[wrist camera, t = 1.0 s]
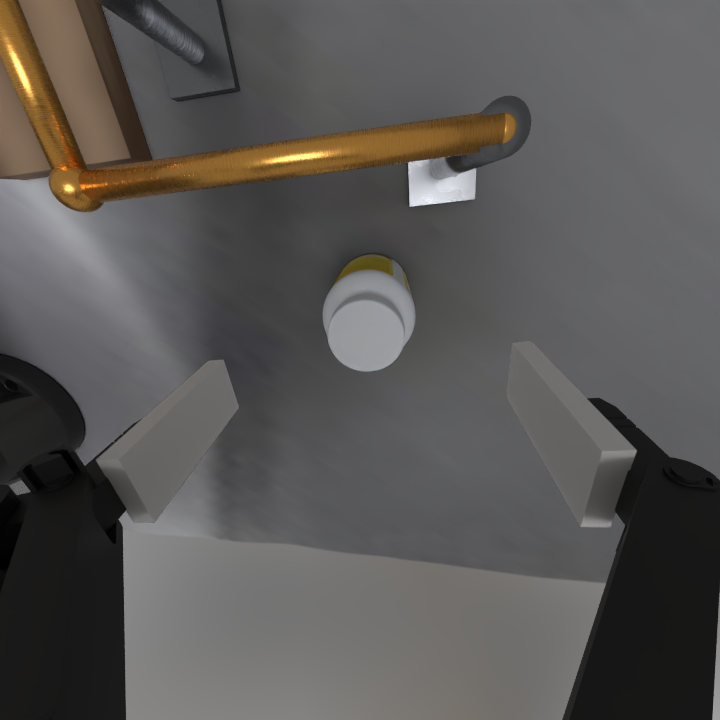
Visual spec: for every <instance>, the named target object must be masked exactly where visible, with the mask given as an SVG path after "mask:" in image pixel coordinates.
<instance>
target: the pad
mask: <svg viewBox="0 0 720 720" xmlns="http://www.w3.org/2000/svg"><path fill="white" fill-rule="evenodd" d="M19 3H20V5H21V8H22V10H23V13H24V15H25V18H26V20H27V22H28V25H29V27H30V30H31V32H32V35H33V37H34V39H35V42H36V44H37V47H38V49H39V52H40V54H41V56H42V59H43V61H44V64H45V66H46V69H47V71H48V73H49V76H50V78H51V81H52V83H53V86H54V88H55V90H56V93H57V95H58V98H59V100H60V103H61V105H62V107H63V110H64V112H65V115H66V117H67V120H68V122H69V124H70V127H71V129H72V132H73V134H74V137H75V139H76V142H77V144H78V146H79V149H80V151H81V154H82V156H83V159H84V161H85V163H86V166H87V168H88V170H90V169H97V168H104V167H111V166H117V165H124V164H131V163H138V162H145V161H152V158H151V155H150V152H149V148H148V145H147V142H146V139H145V136H144V133H143V130H142V127H141V124H140V121H139V118H138V115H137V112H136V109H135V106H134V103H133V100H132V97H131V94H130V91H129V88H128V85H127V82H126V79H125V76H124V73H123V70H122V67H121V64H120V61H119V58H118V55H117V52H116V49H115V46H114V43H113V40H112V37H111V34H110V31H109V28H108V25H107V22H106V19H105V16H104V13H103V10H102V7H101V4H100V3H98V2H97V1H95V0H19ZM51 171H52V170H51V168H50V166H49V164H48V162H47V159H46V157H45V155H44V153H43V151H42V148H41V146H40V144H39V142H38V140H37V137H36V135H35V133H34V131H33V129H32V126H31V124H30V122H29V120H28V118H27V115H26V113H25V111H24V109H23V107H22V104H21V102H20V100H19V98H18V96H17V93H16V91H15V89H14V87H13V85H12V82H11V80H10V78H9V76H8V74H7V71H6V69H5V67H4V65H3V63H2V60H1V58H0V179H18V180H28V179H35V178H41V177H48V176H49V175H50V173H51Z"/></svg>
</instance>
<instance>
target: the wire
mask: <svg viewBox="0 0 720 720" xmlns="http://www.w3.org/2000/svg"><path fill="white" fill-rule="evenodd" d="M95 1H97V2H98V3H100V4H101V5H103V6H104V7H106V8H107V9H109V10H110V11H112V12H113V13H115V14H116V15H118V16H119V17H121V18H122V19H124V20H125V21H127V22H128V23H130V24H131V25H133V26H134V27H136V28H137V29H138V30H140V31H141V32H143V33H144V34H146V35H147V36H149V37H150V38H152V39H153V40H154V42H155V45H156V49H157V52H158V56H159V59H160V63H161V66H162V69H163V73H164V76H165V80H166V83H167V87H168V90H169V94H170V97H171V99H173V100H175V101H183V100H189V99H195V98H201V97H207V96H213V95H219V94H225V93H231V92H237V91H240V89H239V84H238V79H237V75H236V70H235V65H234V61H233V56H232V51H231V47H230V42H229V37H228V32H227V28H226V23H225V18H224V14H223V9H222V4H221V0H165V1H160V2H159V1H158V0H95ZM0 58H1V60H2V63H3V65H4V67H5V69H6V71H7V74H8V76H9V78H10V80H11V82H12V85H13V87H14V89H15V91H16V93H17V96H18V98H19V100H20V102H21V104H22V107H23V109H24V111H25V113H26V115H27V118H28V120H29V122H30V124H31V126H32V129H33V131H34V133H35V135H36V137H37V140H38V142H39V144H40V146H41V148H42V151H43V153H44V155H45V157H46V159H47V162H48V164H49V166H50V168H51V170H52V171H51V173H50V175H49V186H50V189H51V191H52V193H53V195H54V196H55V197H56V199H57V200H58V201H59V202H61V203H62V204H63V205H65V206H66V207H68V208H70V209H72V210H75V211H79V212H93V211H95V210H97V209H99V208H100V207H101V206H102V205H103V204H104V202H109V201H116V200H124V199H132V198H139V197H147V196H154V195H162V194H170V193H177V192H185V191H193V190H200V189H208V188H216V187H223V186H231V185H238V184H246V183H254V182H261V181H269V180H277V179H284V178H292V177H299V176H307V175H315V174H322V173H330V172H338V171H345V170H353V169H361V168H368V167H376V166H383V165H391V164H399V163H406V162H408V189H409V207H411V206H420V205H429V204H437V203H446V202H455V201H464V200H472V199H475V185H476V168H478V167H481V166H483V165H486V164H489V163H492V162H495V161H498V160H501V159H503V158H506V157H509V156H511V155H513V154H514V153H515V152H517V151H518V150H519V149H520V148H521V147H522V145H523V144H524V143H525V141H526V139H527V137H528V134H529V131H530V127H531V115H530V111H529V109H528V107H527V105H526V104H525V102H524V101H523V100H521V99H520V98H518V97H515V96H504V97H501V98H498V99H496V100H495V101H493V102H492V103H491V104H490V105H488V106H487V107H486V108H485V109H484V110H483V111H482V112H481V113H475V114H469V115H462V116H455V117H448V118H441V119H434V120H427V121H420V122H413V123H407V124H400V125H393V126H386V127H379V128H372V129H365V130H358V131H352V132H345V133H338V134H331V135H324V136H317V137H310V138H303V139H296V140H290V141H283V142H276V143H269V144H262V145H255V146H248V147H241V148H235V149H228V150H221V151H214V152H207V153H200V154H193V155H186V156H179V157H173V158H166V159H159V160H152V161H145V162H138V163H131V164H124V165H117V166H111V167H104V168H97V169H90V170H88V168H87V166H86V163H85V161H84V159H83V156H82V154H81V151H80V149H79V146H78V144H77V142H76V139H75V137H74V134H73V132H72V129H71V127H70V124H69V122H68V120H67V117H66V115H65V112H64V110H63V107H62V105H61V103H60V100H59V98H58V95H57V93H56V90H55V88H54V86H53V83H52V81H51V78H50V76H49V73H48V71H47V69H46V66H45V64H44V61H43V59H42V56H41V54H40V52H39V49H38V47H37V44H36V42H35V39H34V37H33V35H32V32H31V30H30V27H29V25H28V22H27V20H26V18H25V15H24V13H23V10H22V8H21V5H20V3H19V0H0Z"/></svg>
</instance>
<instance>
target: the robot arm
mask: <svg viewBox="0 0 720 720" xmlns="http://www.w3.org/2000/svg"><path fill="white" fill-rule="evenodd" d="M506 397H507V399H508V401H509V403H510V404H511V406H512V408H513V410H514V411H515V413H516V415H517V417H518V418H519V420H520V422H521V424H522V425H523V427H524V429H525V431H526V432H527V434H528V436H529V438H530V439H531V441H532V443H533V445H534V446H535V448H536V450H537V452H538V453H539V455H540V457H541V459H542V460H543V462H544V464H545V466H546V467H547V469H548V471H549V473H550V474H551V476H552V478H553V480H554V481H555V483H556V485H557V487H558V488H559V490H560V492H561V494H562V495H563V497H564V499H565V501H566V502H567V504H568V506H569V508H570V509H571V511H572V513H573V514H574V516H575V518H576V520H577V521H578V523H579V525H580V527H611V524H612V521H613V518H614V515H615V512H616V513H617V514H618V516H619V517H620V519H621V520H622V521H623V523H624V524H625V528H624V530H623V533H622V536H621V538H620V541H619V544H618V546H617V549H616V555H615V558H614V561H613V564H612V567H611V570H610V573H609V577H608V580H607V583H606V586H605V589H604V592H603V595H602V598H601V602H600V604H599V608H598V611H597V614H596V617H595V620H594V624H593V626H592V630H591V633H590V636H589V639H588V642H587V645H586V648H585V651H584V654H583V657H582V660H581V664H580V667H579V670H578V673H577V676H576V679H575V682H574V686H573V689H572V692H571V695H570V698H569V701H568V704H567V707H566V710H565V714H564V716H563V719H562V720H712V713H713V696H714V678H715V661H716V660H715V659H716V643H717V624H718V606H719V589H720V480H719V479H718V478H717V477H716V476H715V475H713V474H712V473H710V472H709V471H707V470H706V469H704V468H702V467H700V466H698V465H696V464H693V463H691V462H688V461H685V460H681V459H677V458H670V457H669V456H668V455H667V454H666V453H665V452H664V451H663V450H661V449H660V448H659V447H658V446H657V445H656V444H655V443H654V442H653V441H652V440H651V439H650V438H649V437H648V436H646V435H645V434H644V433H643V432H642V431H641V430H640V429H639V428H636V425H635V424H634V423H633V422H632V421H630V420H629V419H627V417H626V416H625V415H624V414H623V413H622V412H621V411H620V410H619V409H618V408H617V407H615V406H613V405H612V404H610V403H608V402H606V401H604V400H602V399H600V398H588V399H587V398H586V397H585V396H584V395H583V394H582V393H581V392H580V391H579V390H578V389H577V388H576V387H575V386H574V385H573V384H572V383H571V382H570V381H569V380H568V379H567V378H566V377H565V376H564V375H563V374H562V373H561V371H560V370H559V369H558V368H557V367H556V366H555V365H554V364H553V363H552V362H551V361H550V360H549V359H548V358H547V357H546V356H545V355H544V354H543V353H542V352H541V351H540V350H539V349H538V348H537V347H536V346H535V345H534V344H533V343H532V342H531V341H529V342H512V349H511V359H510V368H509V377H508V386H507V396H506ZM238 408H239V406H238V403H237V400H236V397H235V393H234V390H233V387H232V384H231V381H230V378H229V375H228V372H227V369H226V366H225V363H224V360H209V361H207V362H206V363H205V364H204V365H203V366H202V367H201V368H199V369H198V370H197V371H196V372H195V373H194V374H193V375H192V376H190V377H189V378H188V379H187V380H186V381H185V382H184V383H182V384H181V385H180V386H179V387H178V388H177V389H176V390H175V391H173V392H172V393H171V394H170V395H169V396H168V397H167V398H165V399H164V400H163V401H162V402H161V403H160V404H159V405H157V406H156V407H155V408H154V409H153V410H152V411H151V412H150V413H148V414H147V415H146V416H145V417H144V418H143V419H141V420H139V421H138V422H136V423H134V424H133V425H132V426H131V427H129V428H128V429H127V430H126V431H125V432H124V433H123V435H120V436H119V437H118V438H117V439H116V440H115V442H112V443H111V444H110V445H109V446H108V447H106V448H105V449H104V450H103V451H102V452H101V453H100V454H98V455H97V456H96V457H95V458H94V459H93V460H91V461H90V462H89V463H88V464H87V465H86V466H84V465H83V463H82V462H81V460H80V458H79V457H78V455H77V454H76V452H75V450H76V449H77V448H78V447H79V446H80V445H81V443H82V441H83V438H84V423H83V419H82V417H81V414H80V412H79V410H78V408H77V406H76V405H75V403H74V402H73V400H72V399H71V398H70V396H69V395H68V394H67V393H66V392H65V391H64V390H63V389H62V388H61V387H60V386H59V385H58V384H57V383H56V382H55V381H54V380H52V379H51V378H50V377H48V376H47V375H46V374H44V373H43V372H41V371H40V370H38V369H36V368H35V367H33V366H31V365H29V364H27V363H25V362H22V361H20V360H17V359H15V358H12V357H8V356H4V355H0V720H126V703H125V702H126V700H125V647H124V645H125V642H124V641H125V640H124V586H123V585H124V583H123V527H122V525H121V523H120V521H119V520H118V519H119V518H120V517H121V515H122V514H123V513H124V512H125V511H127V512H128V514H129V516H130V517H131V519H132V521H133V522H134V523H155V521H156V520H157V519H158V517H159V516H160V515H161V513H162V512H163V510H164V509H165V508H166V506H167V505H168V504H169V502H170V501H171V500H172V498H173V497H174V495H175V494H176V493H177V491H178V490H179V489H180V487H181V486H182V485H183V483H184V482H185V480H186V479H187V478H188V476H189V475H190V474H191V472H192V471H193V470H194V468H195V467H196V465H197V464H198V463H199V461H200V460H201V459H202V457H203V456H204V455H205V453H206V452H207V450H208V449H209V448H210V446H211V445H212V444H213V442H214V441H215V440H216V438H217V437H218V435H219V434H220V433H221V431H222V430H223V429H224V427H225V426H226V425H227V423H228V422H229V421H230V419H231V418H232V416H233V415H234V414H235V412H236V411H237V410H238ZM20 480H22V481H23V482H24V483H25V485H26V486H27V487H28V489H29V490H30V491H31V492H29V493H25V494H21V495H16V494H15V493H14V492H13V490H12V489H11V488H10V487H9V485H11V484H13V483H15V482H18V481H20Z"/></svg>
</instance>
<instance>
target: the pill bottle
mask: <svg viewBox="0 0 720 720" xmlns="http://www.w3.org/2000/svg"><path fill="white" fill-rule="evenodd" d="M323 324H324V328H325V331H326V334H327V337H328V343H329V346H330V349H331V351H332V353H333V354H334V355H335V357H336V358H337V359H338V360H339V361H340V362H341V363H342V364H344V365H345V366H347V367H349V368H351V369H354V370H358V371H365V372H368V371H376V370H380V369H383V368H385V367H387V366H388V365H390V364H391V363H392V362H394V361H395V359H396V358H397V357H398V356H399V354H400V353H401V351H402V348H403V346H404V345H405V344H406V343H407V341H408V340H409V338H410V336H411V334H412V332H413V329H414V325H415V306H414V302H413V298H412V294H411V291H410V287H409V283H408V279H407V277H406V274H405V272H404V271H403V269H402V268H401V266H400V265H399V264H398V263H397V262H396V261H394V260H393V259H391V258H389V257H387V256H385V255H381V254H374V253H372V254H364V255H361V256H359V257H356V258H355V259H353V260H352V261H350V262H349V263H348V264H347V265H346V266H345V267H344V269H343V270H342V272H341V273H340V275H339V277H338V278H337V280H336V282H335V283H334V285H333V286H332V288H331V290H330V291H329V293H328V295H327V297H326V300H325V302H324V306H323Z"/></svg>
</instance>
